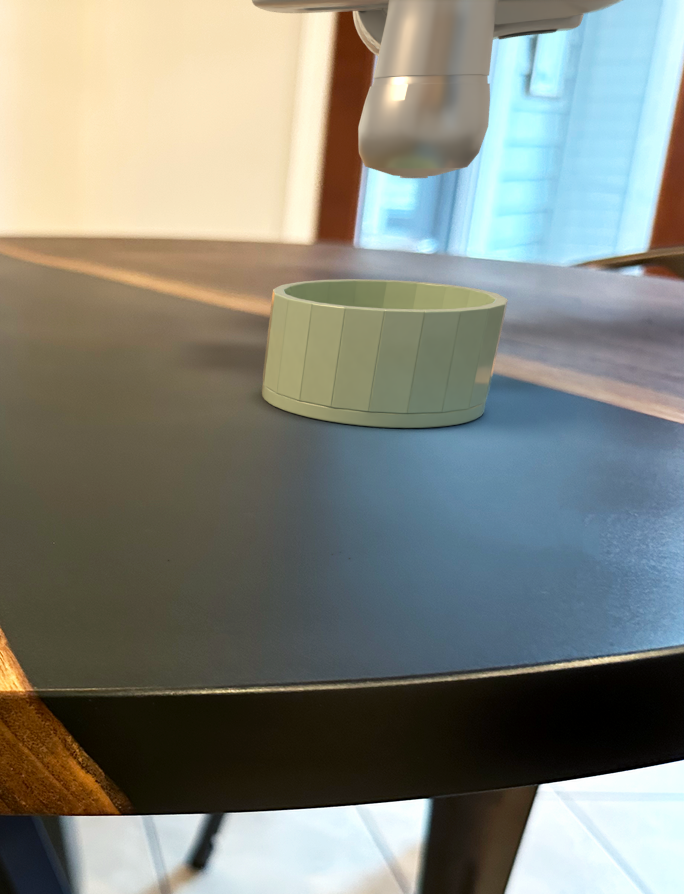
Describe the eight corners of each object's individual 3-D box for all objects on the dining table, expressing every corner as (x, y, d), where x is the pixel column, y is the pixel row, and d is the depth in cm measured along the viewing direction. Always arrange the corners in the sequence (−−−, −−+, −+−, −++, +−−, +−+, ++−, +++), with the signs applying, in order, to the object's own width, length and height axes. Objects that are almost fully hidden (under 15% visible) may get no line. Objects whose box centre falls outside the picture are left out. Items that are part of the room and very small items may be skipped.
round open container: (416, 375, 64) (433, 277, 62) (530, 425, 53) (557, 308, 51) (232, 380, 63) (243, 281, 61) (311, 431, 52) (327, 313, 50)
